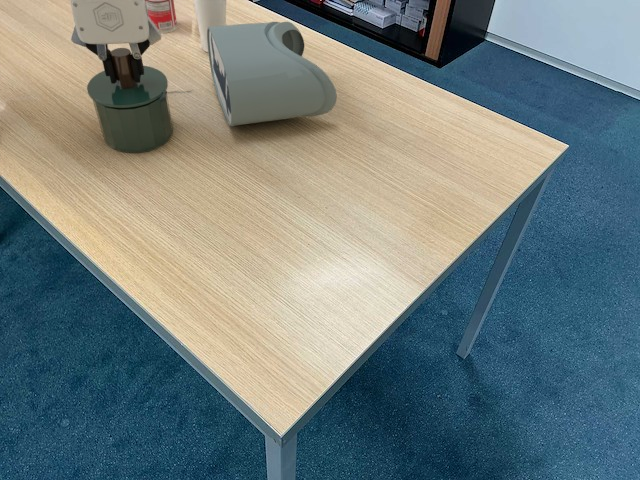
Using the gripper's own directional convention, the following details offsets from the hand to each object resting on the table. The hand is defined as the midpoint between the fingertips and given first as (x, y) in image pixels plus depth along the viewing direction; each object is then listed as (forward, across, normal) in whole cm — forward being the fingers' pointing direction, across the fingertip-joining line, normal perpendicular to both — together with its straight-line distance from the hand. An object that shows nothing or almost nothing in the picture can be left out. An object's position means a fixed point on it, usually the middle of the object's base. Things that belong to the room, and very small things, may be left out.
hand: (126, 77), depth 88 cm
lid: (+2, 0, 0) cm, 2 cm away
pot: (+11, 0, 0) cm, 11 cm away
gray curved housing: (+11, +24, +8) cm, 27 cm away
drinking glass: (+11, +14, +30) cm, 35 cm away
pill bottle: (+11, +3, +40) cm, 42 cm away
